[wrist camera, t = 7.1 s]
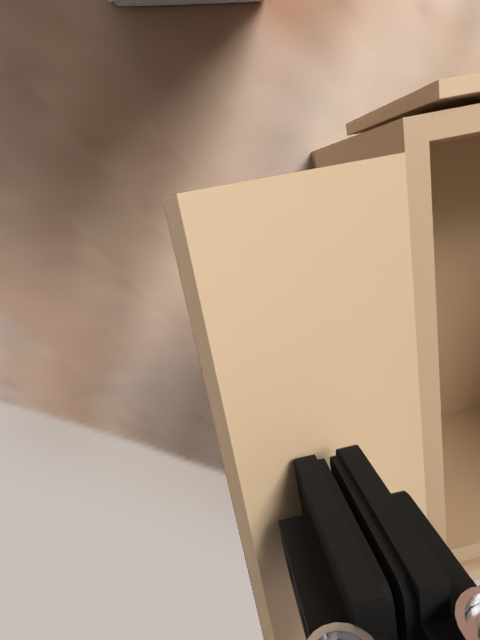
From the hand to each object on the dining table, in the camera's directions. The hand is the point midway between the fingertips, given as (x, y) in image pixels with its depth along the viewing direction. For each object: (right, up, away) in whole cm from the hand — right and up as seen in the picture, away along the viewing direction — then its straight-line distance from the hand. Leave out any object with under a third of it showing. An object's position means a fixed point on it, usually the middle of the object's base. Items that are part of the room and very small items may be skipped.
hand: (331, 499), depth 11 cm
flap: (+4, +2, +4) cm, 6 cm away
